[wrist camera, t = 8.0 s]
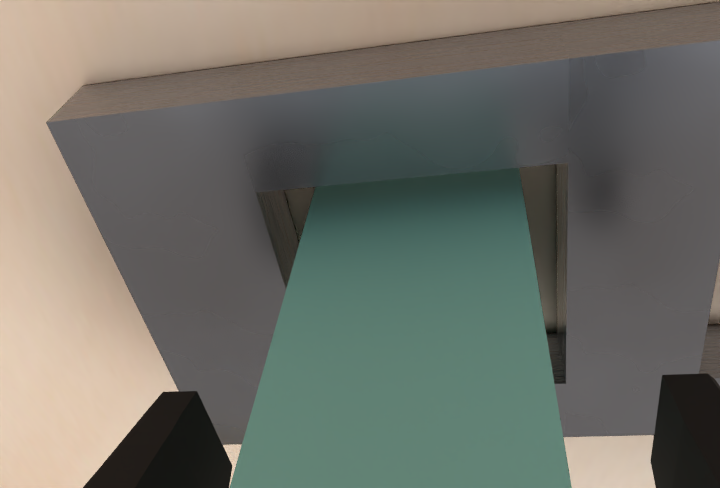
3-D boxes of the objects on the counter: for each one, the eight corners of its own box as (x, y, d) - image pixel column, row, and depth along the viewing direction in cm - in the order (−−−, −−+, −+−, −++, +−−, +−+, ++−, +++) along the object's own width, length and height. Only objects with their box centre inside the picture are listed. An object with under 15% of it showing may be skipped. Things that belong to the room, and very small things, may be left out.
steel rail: (1417, -91, 9) (1564, -64, 8) (1103, 366, 14) (1163, 423, 13) (82, 85, 13) (46, 122, 12) (221, 397, 18) (205, 444, 17)
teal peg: (518, 163, 13) (587, 579, 7) (525, 315, 15) (580, 731, 9) (316, 183, 14) (205, 575, 7) (352, 325, 16) (291, 716, 10)
